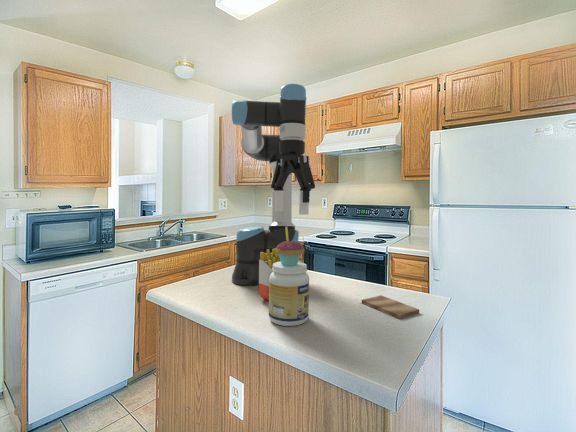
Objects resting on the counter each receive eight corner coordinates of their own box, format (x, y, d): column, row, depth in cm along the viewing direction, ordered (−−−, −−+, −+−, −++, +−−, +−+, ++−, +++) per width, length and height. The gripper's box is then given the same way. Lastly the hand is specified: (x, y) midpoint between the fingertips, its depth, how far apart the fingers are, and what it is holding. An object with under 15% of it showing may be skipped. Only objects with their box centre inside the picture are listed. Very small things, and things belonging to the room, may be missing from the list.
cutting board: (361, 303, 109) (361, 299, 109) (380, 298, 115) (380, 295, 115) (399, 319, 96) (399, 315, 96) (419, 312, 101) (419, 309, 101)
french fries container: (288, 296, 115) (289, 248, 113) (267, 304, 107) (268, 252, 105) (279, 293, 118) (280, 247, 116) (258, 300, 110) (259, 250, 108)
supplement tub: (303, 330, 87) (304, 270, 85) (262, 324, 90) (263, 267, 89) (311, 314, 99) (313, 261, 97) (275, 309, 102) (276, 258, 101)
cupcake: (269, 264, 93) (270, 224, 92) (288, 260, 99) (289, 222, 98) (290, 269, 87) (291, 227, 86) (309, 264, 93) (310, 225, 92)
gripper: (261, 144, 99) (260, 210, 101) (306, 132, 78) (304, 216, 80) (281, 146, 103) (280, 210, 105) (329, 136, 82) (327, 215, 84)
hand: (290, 212), depth 92 cm, fingers open, 13 cm apart
